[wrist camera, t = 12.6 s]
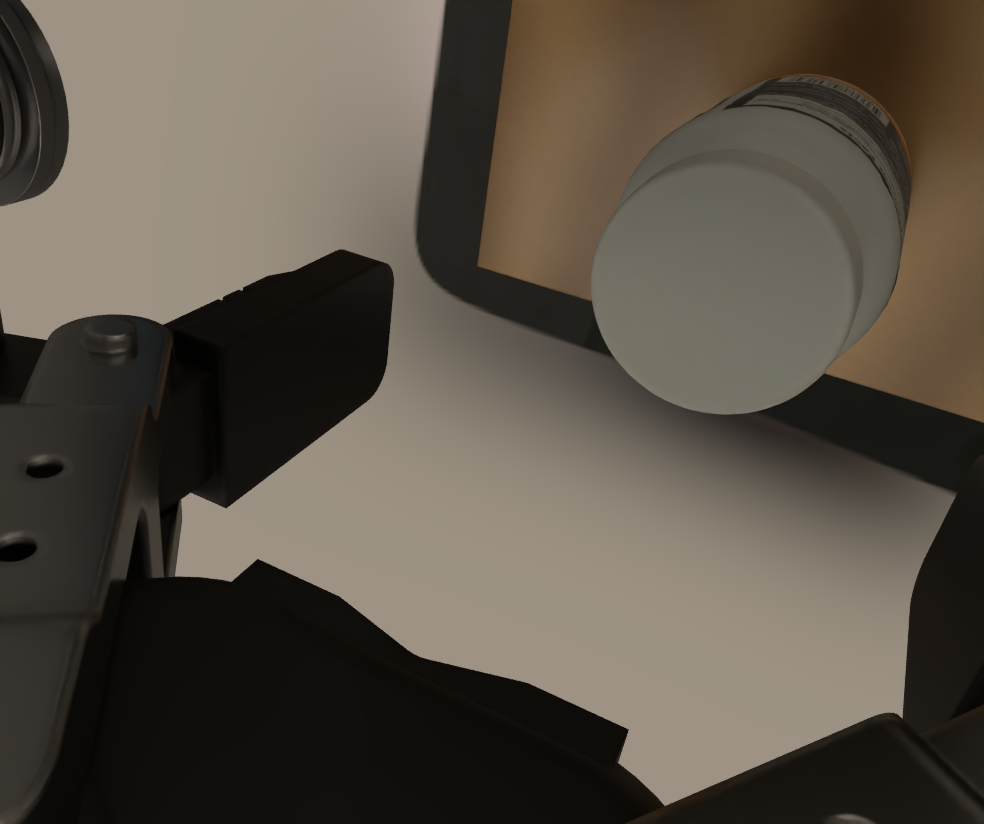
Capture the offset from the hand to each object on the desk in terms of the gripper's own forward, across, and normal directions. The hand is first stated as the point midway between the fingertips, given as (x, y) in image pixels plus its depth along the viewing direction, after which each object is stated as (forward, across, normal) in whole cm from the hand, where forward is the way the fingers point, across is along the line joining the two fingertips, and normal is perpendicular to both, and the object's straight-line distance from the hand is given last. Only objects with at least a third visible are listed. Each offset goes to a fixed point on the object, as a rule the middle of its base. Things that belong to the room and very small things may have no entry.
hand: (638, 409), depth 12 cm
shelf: (+22, 0, 0) cm, 22 cm away
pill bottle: (+15, 0, 0) cm, 15 cm away
